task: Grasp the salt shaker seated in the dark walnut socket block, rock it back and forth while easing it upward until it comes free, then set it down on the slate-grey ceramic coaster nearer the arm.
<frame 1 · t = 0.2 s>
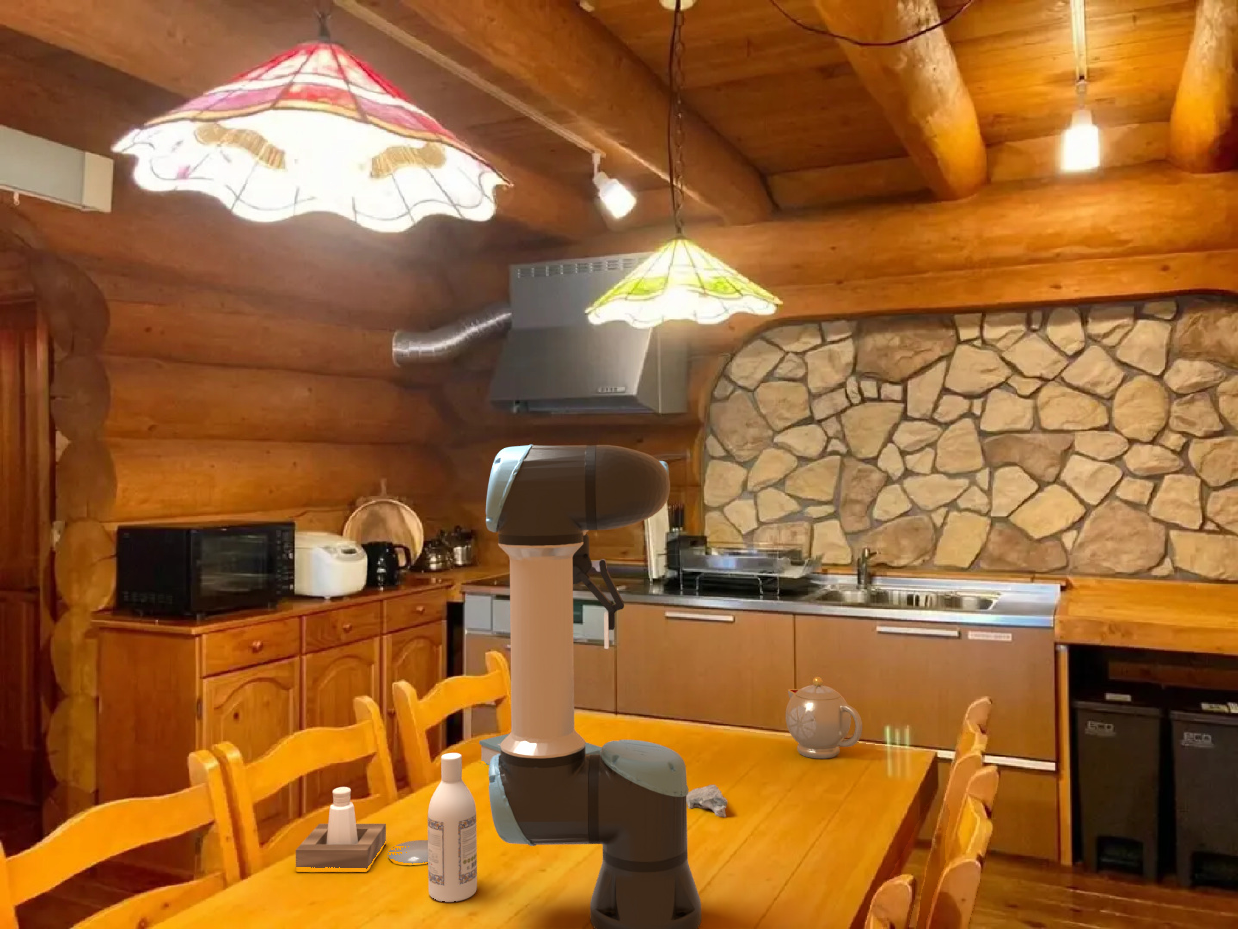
hand: (570, 648, 184), 28 cm above the table, fingers open, 13 cm apart
salt shaker: (342, 860, 157), resting in socket block
book: (543, 769, 204), on the table
socket block: (342, 858, 157), on the table
stone: (705, 809, 179), on the table
bath foam: (452, 894, 144), on the table
coaster: (416, 854, 158), on the table
teapot: (824, 756, 209), on the table
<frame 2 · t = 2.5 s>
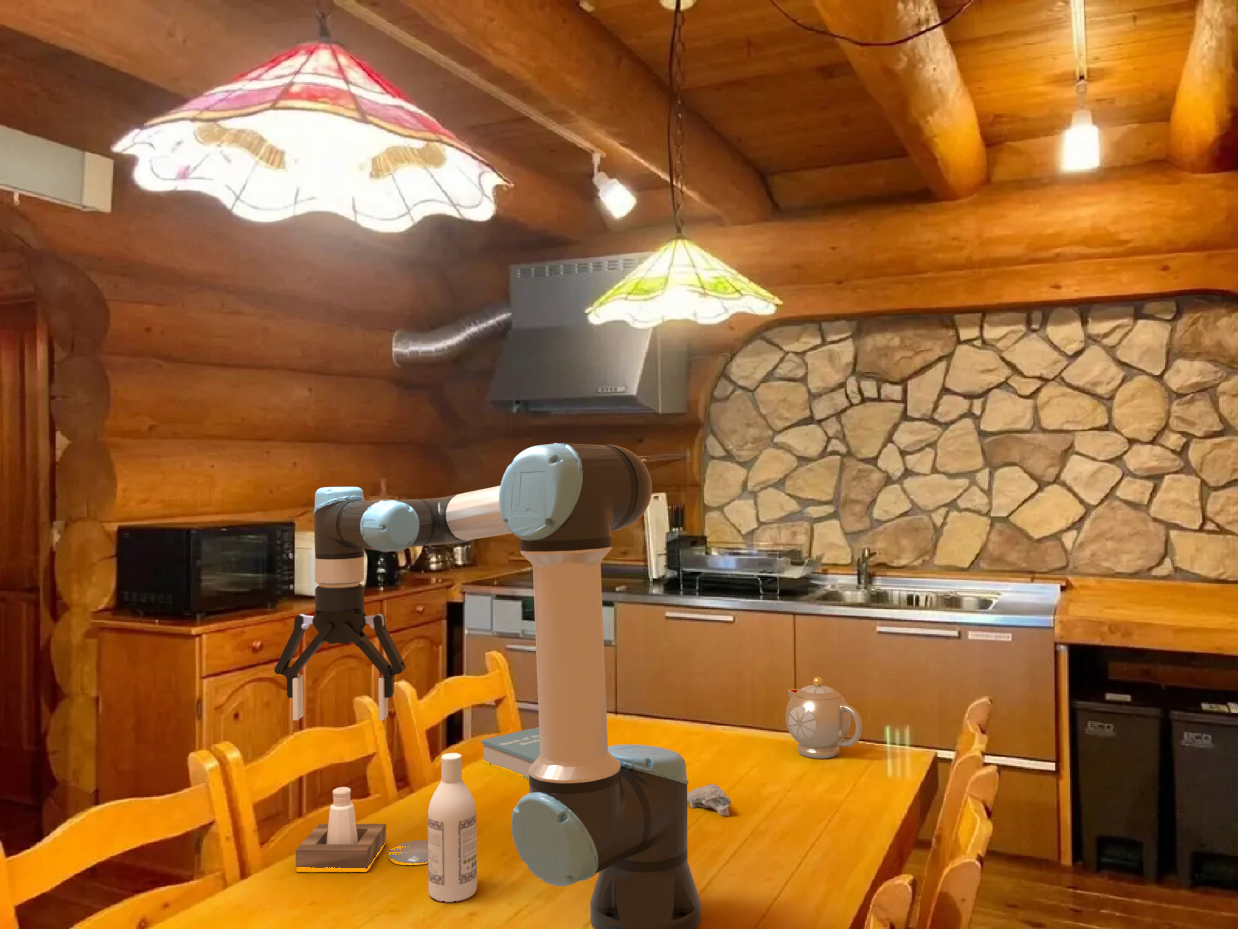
hand: (340, 718, 157), 22 cm above the table, fingers open, 13 cm apart
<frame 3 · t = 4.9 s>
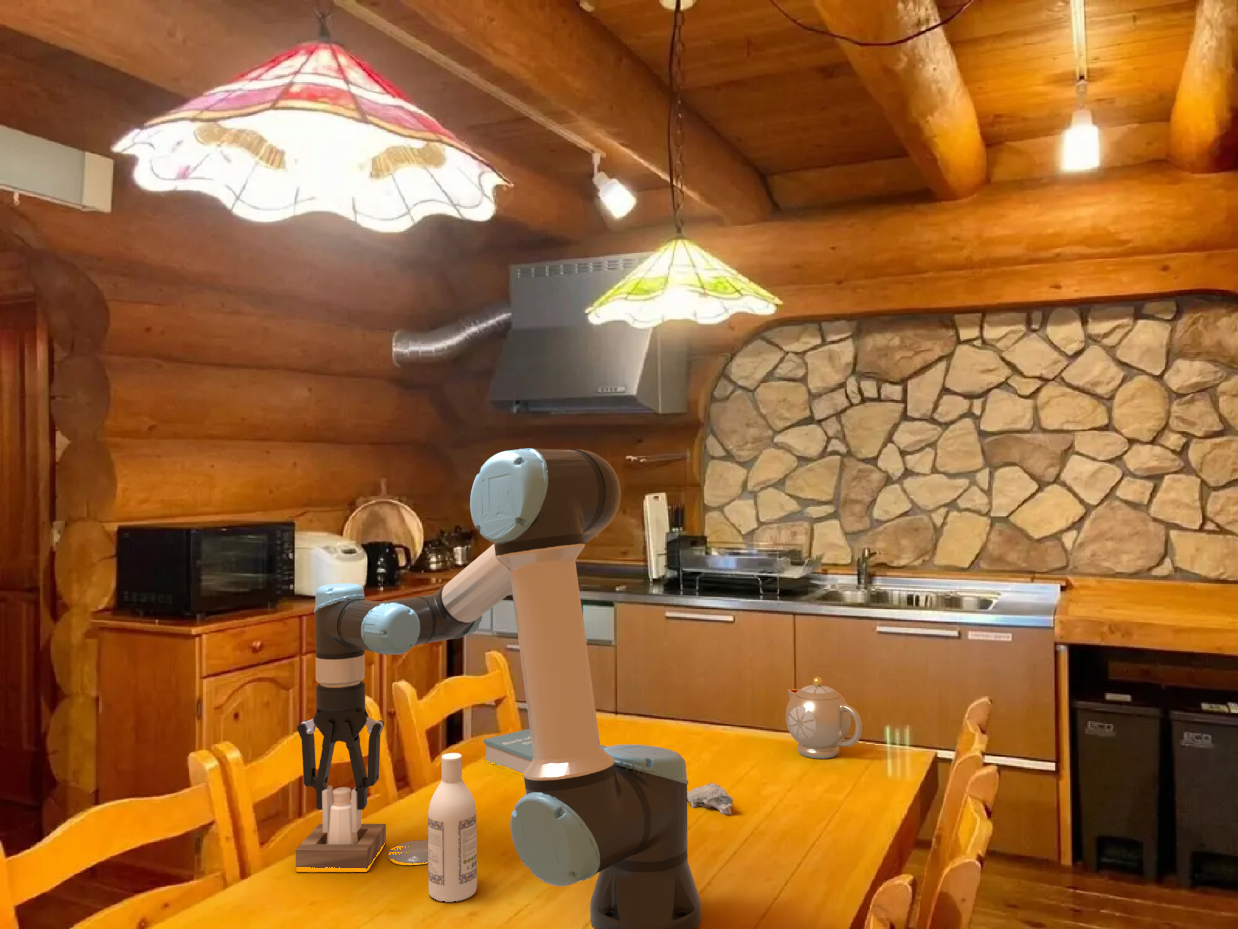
hand: (342, 829, 157), 5 cm above the table, fingers closed on salt shaker, 4 cm apart
salt shaker: (342, 860, 157), resting in socket block, touching gripper
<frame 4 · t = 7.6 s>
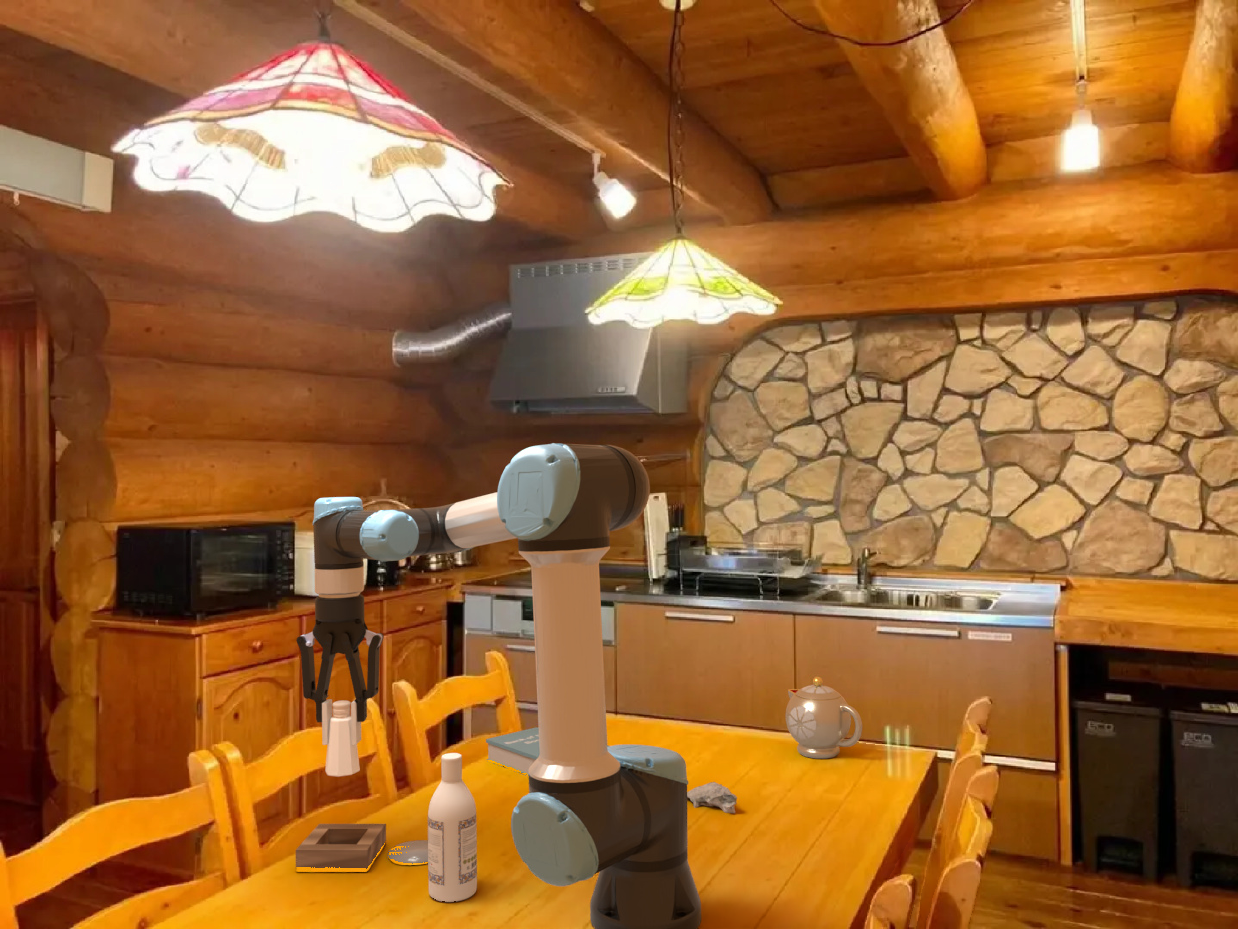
hand: (342, 742, 156), 19 cm above the table, fingers closed on salt shaker, 4 cm apart
salt shaker: (342, 772, 156), point 14 cm above the table, touching gripper
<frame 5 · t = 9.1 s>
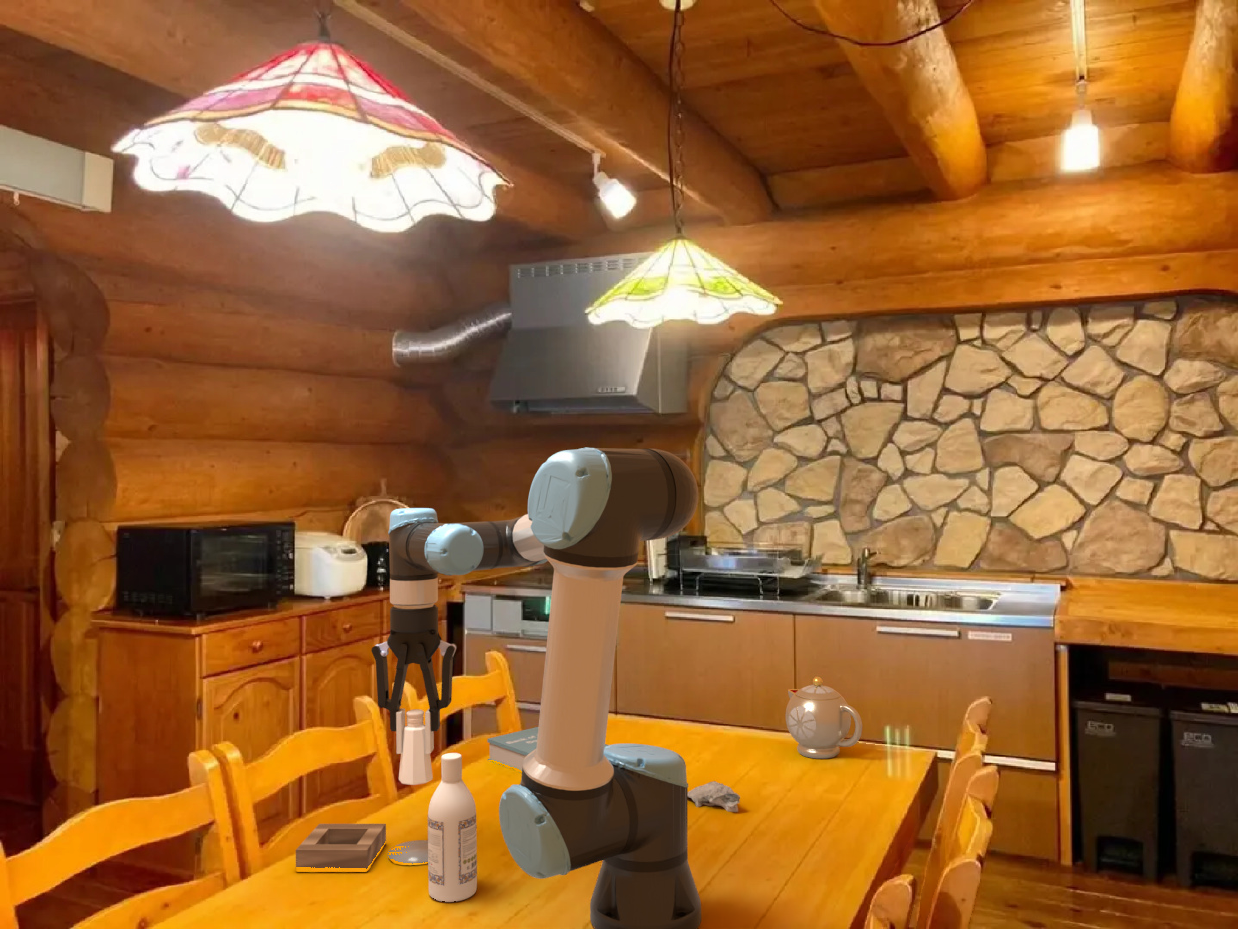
hand: (415, 751, 158), 17 cm above the table, fingers closed on salt shaker, 4 cm apart
salt shaker: (415, 781, 158), point 12 cm above the table, touching gripper
when the fingers open (7 cm above the table, at t = 10.6 s): salt shaker drops 2 cm, resting on coaster.
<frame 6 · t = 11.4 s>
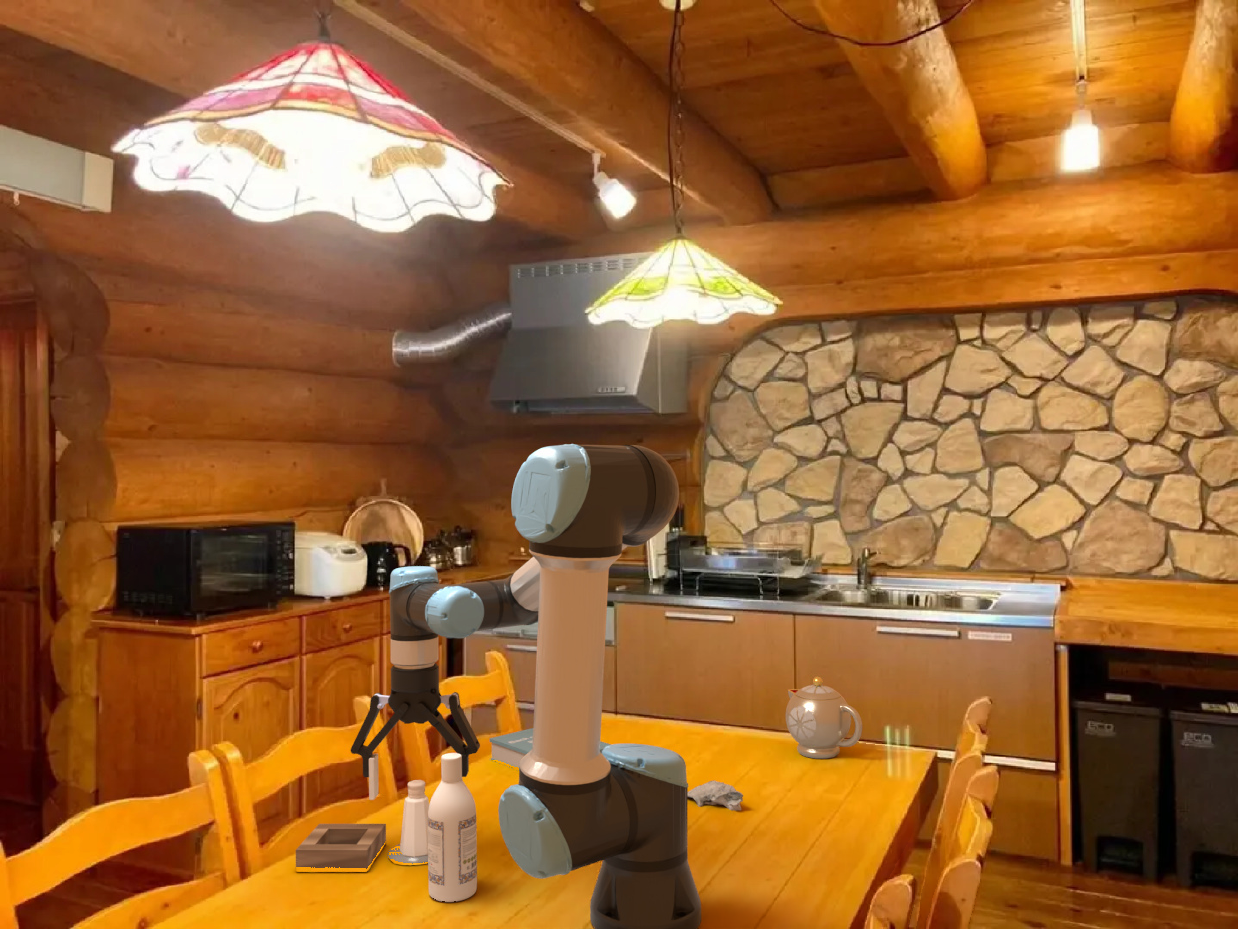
hand: (416, 797, 158), 9 cm above the table, fingers open, 13 cm apart
salt shaker: (417, 852, 158), resting on coaster
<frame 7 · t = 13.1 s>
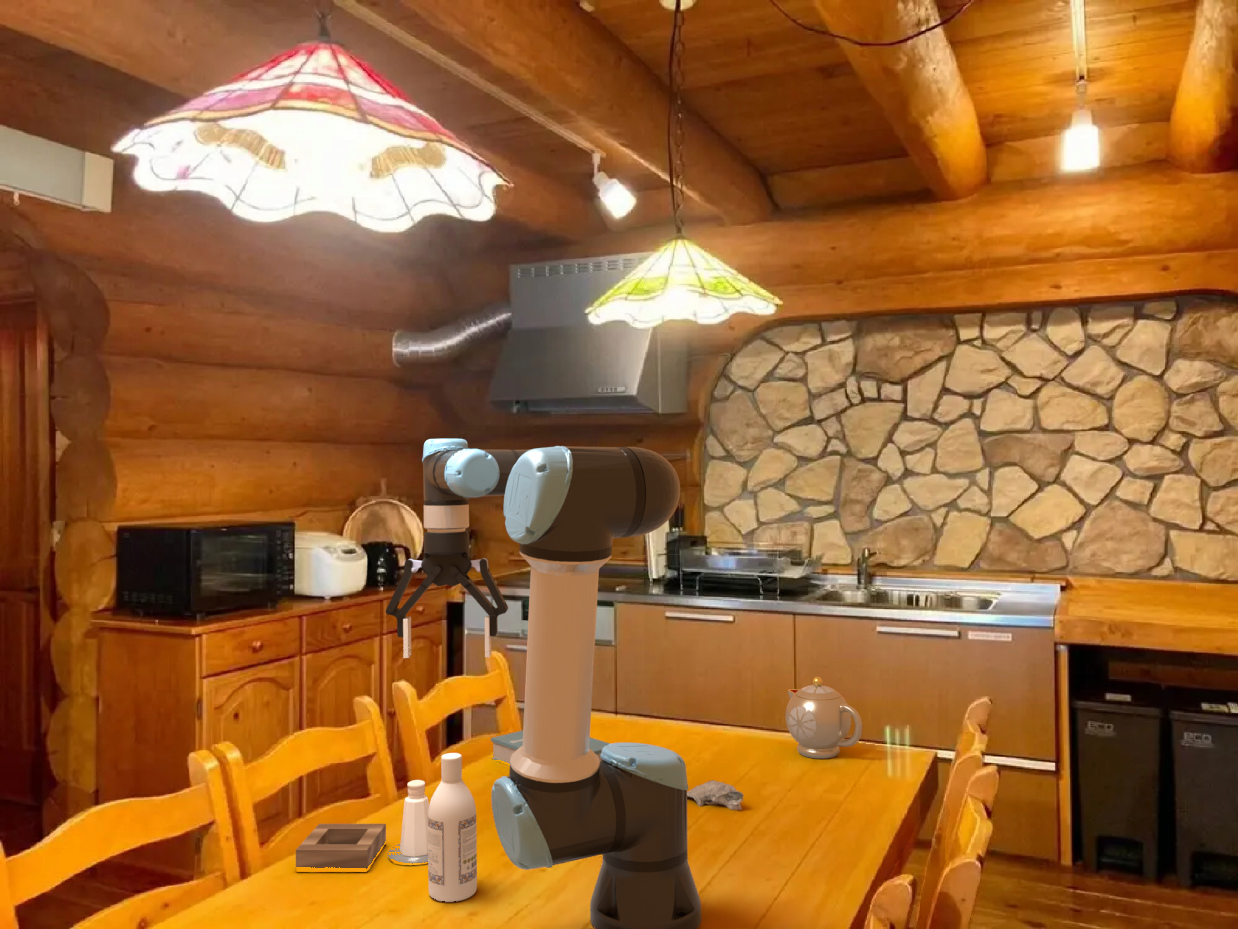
hand: (447, 656, 167), 30 cm above the table, fingers open, 13 cm apart
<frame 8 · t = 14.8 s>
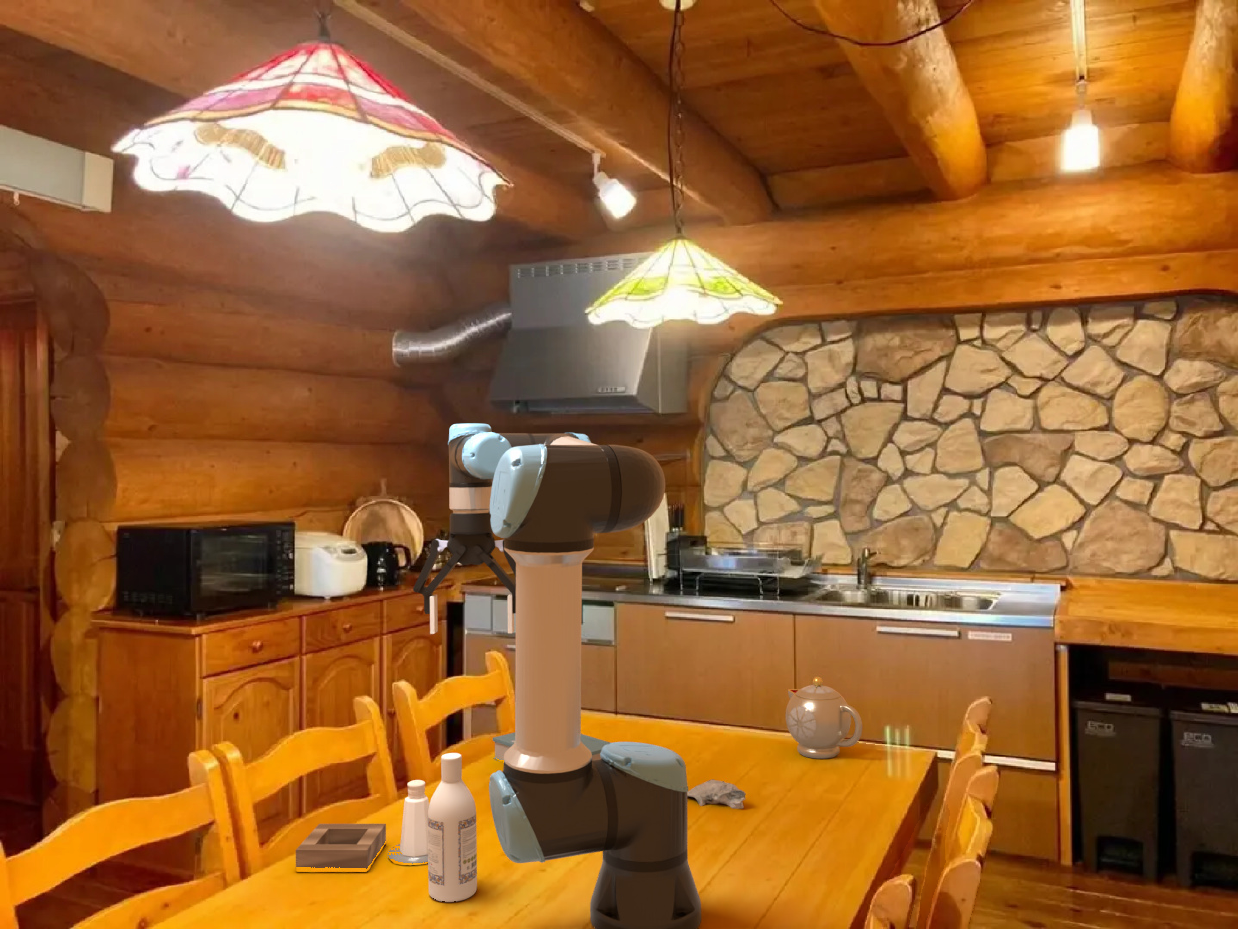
hand: (472, 632, 174), 33 cm above the table, fingers open, 13 cm apart
at the end: salt shaker 0.0 cm from the coaster (horizontally); salt shaker tilted 0°; the gripper is holding nothing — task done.
